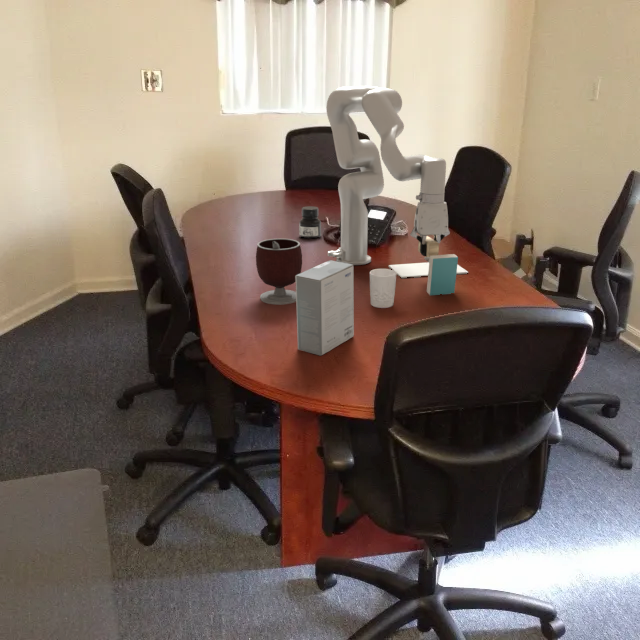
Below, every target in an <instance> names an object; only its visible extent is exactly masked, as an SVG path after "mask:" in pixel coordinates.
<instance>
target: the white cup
mask: <svg viewBox="0 0 640 640" xmlns="http://www.w3.org/2000/svg"><path fill="white" fill-rule="evenodd" d="M396 283H397V273H396V271H394V270H391V269H390V268H375V269H372V270H370V271H369V291H370V292H369V295H370V305H371V306H373V307H374V308H379V309H380V308H381V309H386V308H392V307H393V306H394V304H395V303H394V301H395V295H396V293H395V292H396Z"/></svg>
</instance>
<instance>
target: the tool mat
mask: <svg viewBox="0 0 640 640" xmlns="http://www.w3.org/2000/svg"><path fill="white" fill-rule="evenodd" d="M388 269H392V270H394V271H396V273H397V274H396V276H398V277H399V276H400V277H401V279H408V278H407V277H414V278H422V277H421V276H428V271H429V262H428V261H426V262H415V263H400V264H389V265H388ZM467 273H468V274H469V271H468V270H466V269H465V268H463V267H462V266H461V265H460V264H458V263H457V273H456V275H467ZM400 277H399V278H400Z"/></svg>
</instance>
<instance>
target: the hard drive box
mask: <svg viewBox="0 0 640 640" xmlns="http://www.w3.org/2000/svg"><path fill="white" fill-rule="evenodd" d="M354 270H355V269H354V265H353V264H348V263H343V262H337V260H327V261H325V262H322V263H321V264H318V265H316V266H314V267H312V268H309V269H307V270H304V271H303V272H302V271H301V273H300V274H298V275H296V276H295V278H296V282H295V292H296V302H295V303H296V306H295V307H296V331H297V333H296V334H297V336H296V337H297V350H299V351H303V352H306V353H309V354H312V355H313V354H314V355H316V356H320V357H321V356H323V355H325V354H326V353H328V352H330V351H331V350H333V349H335V348H336V347H338V346H339V345H341V344H343V343H345V342H346V341H348V340H350V339H351V338H353V337H354V336H355V325H354V324H355V322H354V319H355V313H354V311H355V310H354V309H355V308H354V307H355V306H354V305H355V304H354V303H355V302H354V299H355V298H354V296H355V295H354V293H355V291H354V286H355V285H354V284H355V283H354V282H355V281H354Z"/></svg>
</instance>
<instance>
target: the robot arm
mask: <svg viewBox="0 0 640 640" xmlns="http://www.w3.org/2000/svg"><path fill="white" fill-rule="evenodd" d="M402 107H403V99H402V97H401V94H400V93H399V92H398V91H397V90H396V89H392V88H387V87H380V86H379V87H378V86H373V85H357V86H356V85H352V86H351V85H349V86H348V85H347V86H341V87H338V88H336V89H334V90H333V91H331V93H330V94H329V95H328V98H327V100H326V108H325V109H326V116H327V119H328V122H329V125H330V128H331V131H332V132H331V133H332V137H333V143H334V144H333V145H334V149H335V154H336V158H337V159H336V160H337V163H338V165H339V167H340V168H341V169H344V170H353V169H359V170H360V171H356V172H351V173H347V174H345V175H343V176H342V177H341V178H340V179H339V182H338V185H337V187H338V188H337V189H338V190H337V191H338V196H339V202H340V247H338V249H335V250H327V257H332V258H336V260H335V261H337V262H343V263H348V264H353V266H361V265H362V266H364V265H366V264H369V263H371V262H372V257H371V256H370V255H368V225H369V224H368V221H369V220H368V219H369V218H368V217H369V216H368V215H369V213H368V209H367V206H366V204H365V202H364V200H366V199H370V198H376V197H378V196H380V195H381V194H382V193H383V190H384V186H385V178H384V173H383V167H382V162H383V164H384V167H386V170H388V172H389V174H390V175H391V176H392V177H393V178H394V179H395V180H396V181H399V182H408V181H414V180H420V191H419V194H418V195H417V194H416V196H415V199H416V201H418V202H417V205H416V209H415V214H414V221H413V228H412V230H411V231H410V234H409V235H410V236H411V237H412V238H414V239H416V240H417V241H419V242H420V252H419V253H420V254H421V256H423V257H426V253H427V244H426V237H427V236H433V240H435V241H436V242H438V243H439V244H440V243H441V241H442V240H443V239H444V238H445V237H447V236H449V235H450V233H451V231H450V229H449V214H448V205H447V202H446V201H445V193H446V192H445V187H446V172H447V162H446V160H445V159H444V158H441V157H431V156H428V155H425V154H414V155H413V154H411V155H405V156H404V155H403V154H402V152H401V150H400V149H399V147H398V145H397V141H396V139H397V138H398V137H399V136H400V135H401V134H402V133H403V131H404V127H405V124H404V122H403V120H402V119H401V118H400V116H399V115H398V114H399V112H400V111H401V110H402ZM351 113H365V114H366V116H367V118H368V120H369V121H370V123H371V125H372V126H373V127H374V129H375V131H376V133H377V134H378V136H379V138H380V145H379V146H380V151H379V149H378V147H377V145H376V144H375V142H373V141H372V140H371V139H366V138H365V139H359V134H358V129H357V126H356V123H355V121H354V119H353V118H352V117H351V116H350V114H351ZM381 160H382V162H381Z"/></svg>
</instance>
